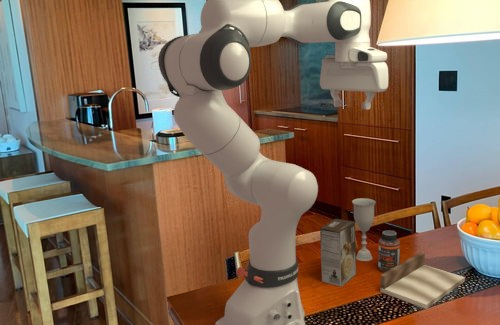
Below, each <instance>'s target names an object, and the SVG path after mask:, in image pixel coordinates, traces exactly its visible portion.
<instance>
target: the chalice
mask: <svg viewBox="0 0 500 325" xmlns="http://www.w3.org/2000/svg"><path fill="white" fill-rule="evenodd" d="M351 202H352V204H353V218H354V222H355V225H357V228H358V229H359V231H361V232H362V236H361V239H362V241H361V243H360V244H361V245H362V248H361V249H359V250H358V251H357V254H356V261H357V260H358V261H361V262H370V261H372V260H373V256H372V254H371V251H370V250H369V249H368V248H366V247H367V244H368V242H367V241H366V240H367V238H368V236H367V235H366V234H367V233H366V232H368V231H369V230H370V228H371V227H372V225H373V222H374V219H375V205H376V202H377V201H376V200H374V199H371V198H364V197H362V198H355V199H353V200H351Z"/></svg>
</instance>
